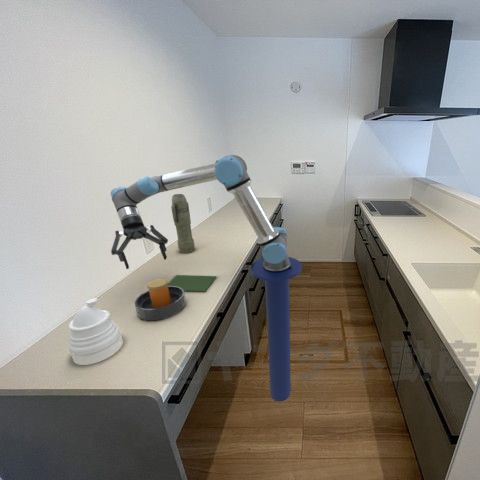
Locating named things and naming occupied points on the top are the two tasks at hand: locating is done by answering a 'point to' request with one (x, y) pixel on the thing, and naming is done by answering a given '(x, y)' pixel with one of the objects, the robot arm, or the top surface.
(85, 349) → the honey pot
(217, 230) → the top surface
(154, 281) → the tea tin
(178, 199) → the green elongated piece
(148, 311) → the bowl
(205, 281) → the mat
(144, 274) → the top surface
